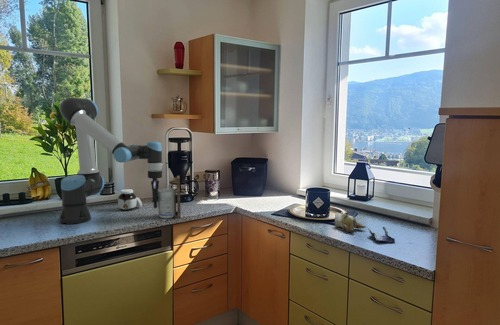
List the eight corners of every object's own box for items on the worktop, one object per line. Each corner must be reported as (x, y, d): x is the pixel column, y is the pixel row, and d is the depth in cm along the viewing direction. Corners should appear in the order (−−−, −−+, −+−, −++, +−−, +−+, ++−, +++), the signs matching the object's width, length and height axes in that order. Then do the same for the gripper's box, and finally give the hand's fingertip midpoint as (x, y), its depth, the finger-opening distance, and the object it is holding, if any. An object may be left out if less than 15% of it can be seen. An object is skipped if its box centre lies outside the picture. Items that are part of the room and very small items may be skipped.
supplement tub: (167, 213, 212) (166, 187, 210) (180, 215, 207) (179, 189, 205) (154, 217, 203) (154, 190, 202) (167, 219, 198) (166, 192, 197)
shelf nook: (171, 219, 200) (170, 178, 197) (171, 214, 209) (170, 175, 207) (180, 218, 201) (179, 178, 198) (180, 213, 210) (179, 175, 208)
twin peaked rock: (393, 237, 171) (366, 233, 175) (395, 224, 169) (367, 221, 173) (394, 250, 160) (365, 246, 164) (396, 237, 158) (366, 233, 162)
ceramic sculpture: (343, 207, 190) (367, 215, 178) (341, 223, 192) (366, 232, 180) (329, 210, 184) (353, 219, 172) (327, 227, 185) (352, 236, 174)
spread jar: (116, 210, 218) (115, 191, 216) (128, 206, 229) (127, 187, 227) (133, 212, 214) (133, 192, 213) (145, 207, 225) (144, 188, 224)
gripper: (161, 171, 194) (162, 215, 196) (162, 168, 207) (163, 210, 209) (146, 172, 193) (147, 216, 195) (148, 169, 205) (149, 210, 208)
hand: (155, 213), depth 202 cm, fingers closed
